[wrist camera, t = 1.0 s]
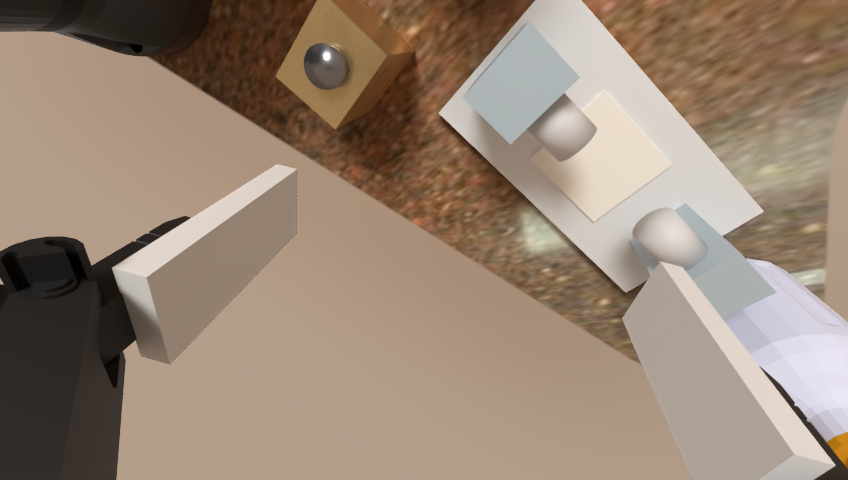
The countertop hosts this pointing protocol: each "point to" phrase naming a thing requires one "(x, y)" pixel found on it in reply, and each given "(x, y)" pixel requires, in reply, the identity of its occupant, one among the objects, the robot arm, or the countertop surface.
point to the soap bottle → (800, 351)
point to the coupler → (343, 60)
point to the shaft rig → (606, 155)
